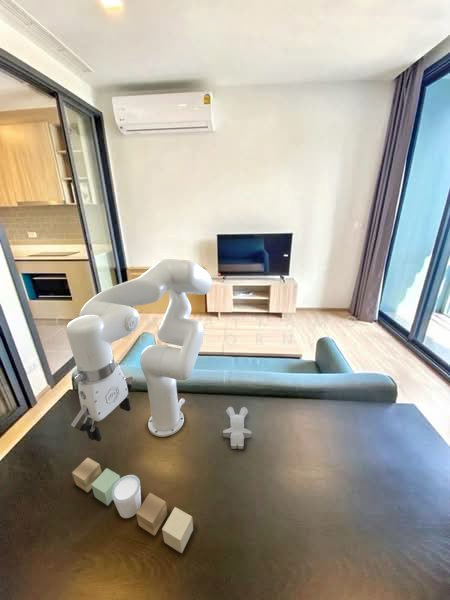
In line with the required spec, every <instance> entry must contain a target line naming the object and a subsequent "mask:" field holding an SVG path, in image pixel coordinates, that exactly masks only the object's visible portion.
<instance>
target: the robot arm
mask: <svg viewBox="0 0 450 600" xmlns="http://www.w3.org/2000/svg"><path fill="white" fill-rule="evenodd" d="M212 286H213V279H212V276H211V274H210V273H209V272H208V271H207V270H206V269H204V268H203V267H202V266H201V265H200V264H198V263H196V262H194V261H192V260H188V259H175V258H165V259H162V260H160V261H158V262H157V263H156V264H154V265H153V266H152V267H150V268H149V269H148V270H146V271H145V272H144V273H142V274H141V275H140V276H139V277H137V278H133V279H130V280H126V281H124V282H122V283H118V284H115V285H113V286H110V287H108V288H106V289H103V290H102V291H100V292H99V293H97V294H95V295H94V296H93V297H91V299H89V300H88V301H87V302H86V303H84V305H83V306H82V308H81V309H80V312H79V313H78V314H79V315H78V317H76V318H74V319H72V320H70V322H68V323H67V325H66V330H65V332H66V336H67V339H68V342H69V346H70V349H71V353H72V356H73V359H74V362H75V366H76V372H77V375H76V376H75V377H74V381H75V383H76V384H77V388H78V389H77V390H78V391H77V392H78V397H79V403H80V407H81V408H80V410H79V412H78V413H77V415H76V416H75V418H74V419H73V420H72V422H71V423H70V427H71V428H74V429H76V430H78V431H80V432H86V433H87V437H88V439H89V440H91V441H96V442H99V443H100V441H102V435H101V432H100V429H99V427H98V426H97V425H98V422H100V421H102V420H103V419H105V418H106V417H107V416H108V415H109V414H111V413H112V412H113V411H114V410H115V409H116V408H117V407H118V406H119V409H121V410H123V411H125V412H130V411H131V410H132V408H131V405H130V403H131V402H130V399H129V398H130V396H131V393H130V392H131V390H132V387H133V385H132V383H133V376H131V375H124V372H123V370H122V368H121V367H120V365H119V364H118V362H115V357H114V352H113V350H112V349H113V348H112V345H111V344H112V343H114V342H116V341H119V340H121V339H123V338H125V337H129V336H130V335H131V334H133V333H134V332H135V331H136V330H137V328H138V327H139V326H140V321H141V316H140V313H139V312H138V310H137V309H135V308H134V307H138V306H145V305H150V304H154V303H156V302H158V301H160V300H161V298H162V297H163V296H164V295H165V294H166V293H167V292H168V299H169V300H168V301H169V302H168V306H167V308H166V310H165V313H164V315H163V317H162V320H161V322H160V324H159V326H158V329H157V333H156V335H157V338H158V340H159V341H160V342H162V343H164V344H168V345H164V344H158V343H157V344H156V343H155V344H150V345H148V346H147V345H146V347H144V348H143V350H142V351H141V353H140V356H139V357H140V358H139V365H140V368H141V371H142V373H143V375H144V378H145V381H146V388H147V393H148V394H147V395H148V401H149V407H150V415H151V416H150V417H149V419H148V423H147V427H148V430H149V432H150V433H151V434H152V435H154V436H155V437H159V438H160V437H161V438H164V437H170V436H173V435H174V434H176V433H177V432H178V431H180V429H182V428H183V427H182V426H183V425H184V421H185V418H184V417H185V416H184V413H183V412H182V411H181V408H182V406H183V405H184V404H185V402H186V400H185V398H183V397H182V398H180V399H178V388H177V381H186V380H188V379H189V378H190V377H191V375H192V373H193V371H194V369H195V365H196V362H197V359H198V356H199V353H200V350H201V347H202V344H203V341H204V336H205V329H204V326H203V323H201V322H200V320H199V321H198V320H196V319H191V318H190V316H191V313H192V305H191V302H190V300H189V298H188V296H187V294H191V295H199V296H204V295H207V294H208V293H209V292H210V291H211V289H212ZM169 345H173V346H178V347H173V346H169ZM179 347H181V348H179ZM91 419H92V420H91Z"/></svg>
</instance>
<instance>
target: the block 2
mask: <svg viewBox="0 0 450 600" xmlns="http://www.w3.org/2000/svg"><path fill="white" fill-rule="evenodd" d="M119 479H121V475H120V474H118V473H116V472H115V471H112V470H111V469H109V468H107V467H106V468H105V469H104V470H103V471H102V474H101V475H100V476H99V477H98V478H97V479H96V480H95V481H94V482H93V483H92V485H91V486H92V488H91V490H92V492H93V496H94V498H95V499H97V500H98V501H100V502H101V503H103V504H105V505H106V506H109V505H110V504H111V503H112V501H113V498H112V489H113V487H114V485H115V484H116V482H117V481H118V480H119Z"/></svg>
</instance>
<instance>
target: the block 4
mask: <svg viewBox="0 0 450 600" xmlns="http://www.w3.org/2000/svg"><path fill="white" fill-rule="evenodd" d="M161 530H162V532H161V533H162V538H163V542H164V543H165V545H168V546H169V547H170V548H172V549H174V550H175V551H177V552H179V553H180V554H183V552H184V550H185V548H186V546H187V544H188V542H189V539H190V538H191V535H192V533H193V531H194V519H193V516H192V515H190V514H188V513H187V512H185V511H183V510H182V509H179V508H178V507H176V506H174V508H173V509H172V511H171V513H170V515H169V516H168V517H167V520H166V522H165V523H164V525H163V526H162V528H161Z"/></svg>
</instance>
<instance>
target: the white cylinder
mask: <svg viewBox="0 0 450 600" xmlns="http://www.w3.org/2000/svg"><path fill="white" fill-rule="evenodd" d="M141 491H142V490H141V480H140V479H139V477H138V476H137V475H135V474H127V475H124V476H121V477H120V479H119V480H118V481H117V482H116V484H115V485H114V487H113V489H112V498H113V500H112V501H113V503H114V505H115V508H116V510H117V512H118V514H119V516H120V517H121V518H122V519H129V518H132V517H134V516H135V515H136V512H137V511H138V509H139V508H140V506H141V505H142V494H141Z"/></svg>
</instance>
